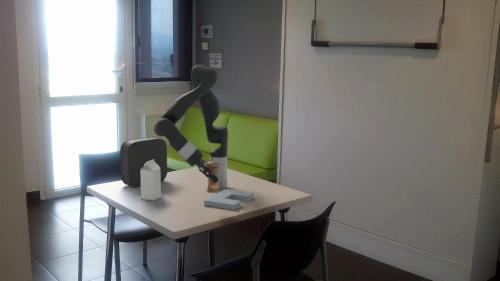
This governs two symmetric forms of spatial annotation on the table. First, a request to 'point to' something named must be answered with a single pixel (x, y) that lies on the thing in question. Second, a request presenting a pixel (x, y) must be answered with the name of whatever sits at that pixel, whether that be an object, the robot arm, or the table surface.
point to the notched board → (228, 199)
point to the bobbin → (212, 185)
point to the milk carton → (150, 181)
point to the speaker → (142, 158)
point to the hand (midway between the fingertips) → (217, 179)
